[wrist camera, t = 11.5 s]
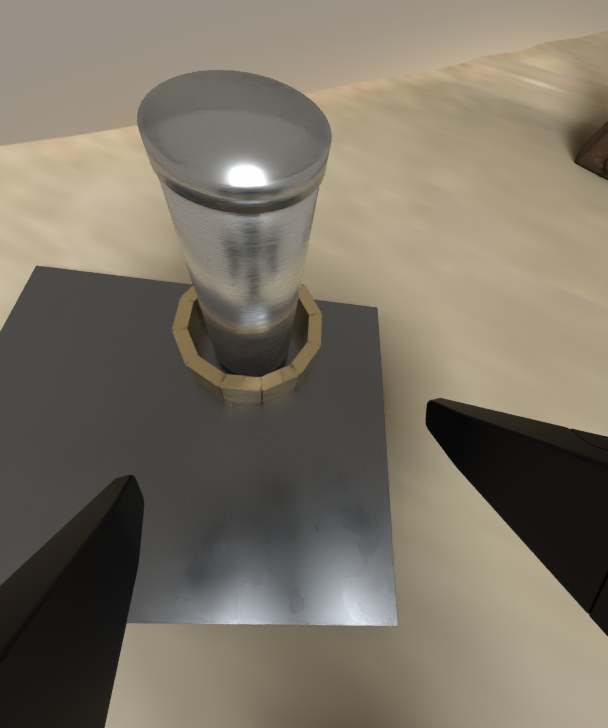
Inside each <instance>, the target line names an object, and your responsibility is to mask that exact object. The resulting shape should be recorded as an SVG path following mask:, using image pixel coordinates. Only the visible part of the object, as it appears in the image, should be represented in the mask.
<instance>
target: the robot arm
mask: <svg viewBox="0 0 608 728" xmlns="http://www.w3.org/2000/svg"><path fill="white" fill-rule="evenodd" d="M426 426H427V428H428V430H429V431H430V433H431V434H432V435H433V437H434V438H435V439H436V441H437V442H438V443H439V445H440V446H441V447H442V449H443V450H444V452H445V453H446V454H447V456H448V457H449V458H450V460H451V461H452V462H453V463H454V465H455V466H456V467H457V468H458V470H459V471H460V472H461V473H462V474H463V475H464V476H465V477H466V479H467V480H468V481H469V482H470V483H471V484H472V485H473V486H474V487H475V489H476V490H477V491H478V492H479V493H480V494H481V495H482V496H483V498H484V499H485V500H486V501H487V502H488V503H489V504H490V505H491V506H492V508H493V509H494V510H495V511H496V512H497V513H498V514H499V515H500V516H501V518H502V519H503V520H504V521H505V522H506V523H507V524H508V525H509V527H510V528H511V529H512V530H513V531H514V532H515V533H516V534H517V535H518V537H519V538H520V539H521V540H522V541H523V542H524V543H525V544H526V545H527V547H528V548H529V549H530V550H531V551H532V552H533V553H534V554H535V556H536V557H537V558H538V559H539V560H540V561H541V562H542V563H543V564H544V566H545V567H546V568H547V569H548V570H549V571H550V572H551V573H552V574H553V576H554V577H555V578H556V579H557V580H558V581H559V582H560V583H561V585H562V586H563V587H564V588H565V589H566V590H567V591H568V592H569V593H570V595H571V596H572V597H573V598H574V599H575V600H576V601H577V602H578V604H579V605H580V606H581V607H582V608H583V609H584V610H585V611H586V612H587V613H588V614H589V616H590V617H591V618H592V619H593V621H594V622H595V623H596V624H597V625H598V626H599V627H600V628H601V629H602V631H603V632H604V633H605V634H606V635H607V636H608V437H606V436H602V435H597V434H593V433H589V432H584V431H580V430H576V429H569V428H567V427H563V426H558V425H554V424H550V423H546V422H541V421H537V420H533V419H528V418H524V417H520V416H516V415H511V414H507V413H503V412H499V411H494V410H490V409H486V408H482V407H477V406H473V405H469V404H464V403H460V402H456V401H452V400H447V399H443V398H437V399H433V400H430V401H428V403H427V409H426ZM143 516H144V498H143V495H142V492H141V490H140V487H139V485H138V482H137V480H136V478H135V476H134V475H127V476H123V477H119V478H116V479H114V480H113V481H112V482H111V483H110V484H109V485H108V486H107V487H106V488H105V489H103V490H102V491H101V492H100V493H99V494H98V495H97V496H96V497H95V498H94V499H93V500H92V501H91V502H89V503H88V504H87V505H86V506H85V507H84V508H83V509H82V510H81V511H80V512H79V513H78V514H76V515H75V516H74V517H73V518H72V519H71V520H70V521H69V522H68V523H67V524H66V525H65V526H64V527H62V528H61V529H60V530H59V531H58V532H57V533H56V534H55V535H54V536H53V537H52V538H51V539H49V540H48V541H47V542H46V543H45V544H44V545H43V546H42V547H41V548H40V549H39V550H38V551H37V552H35V553H34V554H33V555H32V556H31V557H30V558H29V559H28V560H27V561H26V562H25V563H24V564H22V565H21V566H20V567H19V568H18V569H17V570H16V571H15V572H14V573H13V574H12V575H11V576H10V577H8V578H7V579H6V580H5V581H4V582H3V583H2V584H1V585H0V728H105V723H106V718H107V714H108V709H109V704H110V699H111V695H112V690H113V685H114V680H115V676H116V671H117V666H118V661H119V656H120V652H121V647H122V642H123V637H124V633H125V628H126V623H127V618H128V614H129V609H130V604H131V599H132V595H133V590H134V585H135V580H136V576H137V570H138V565H139V557H140V547H141V537H142V526H143Z"/></svg>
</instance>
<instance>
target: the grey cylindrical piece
mask: <svg viewBox="0 0 608 728" xmlns="http://www.w3.org/2000/svg"><path fill="white" fill-rule="evenodd" d="M137 124H138V128H139V132H140V135H141V138H142V141H143V144H144V147H145V150H146V152H147V155H148V158H149V161H150V164H151V166H152V168H153V170H154V172H155V174H156V175H157V176H158V178H159V180H160V183H161V186H162V189H163V193H164V196H165V199H166V202H167V205H168V208H169V211H170V214H171V217H172V220H173V224H174V227H175V230H176V233H177V236H178V239H179V242H180V245H181V248H182V251H183V255H184V258H185V261H186V264H187V267H188V270H189V273H190V276H191V279H192V282H193V286H194V289H195V292H196V295H197V298H198V301H199V304H200V307H201V310H202V313H203V317H204V320H205V323H206V326H207V329H208V332H209V335H210V338H211V341H212V344H213V348H214V351H215V354H216V356H217V358H218V360H219V361H220V363H221V364H222V365H223V366H224V367H225V368H227V369H228V370H230V371H231V372H233V373H235V374H238V375H242V376H251V377H254V376H261V375H265V374H267V373H270V372H272V371H273V370H275V369H276V368H277V367H279V366H280V365H281V364H282V362H283V361H284V359H285V358H286V356H287V353H288V349H289V344H290V339H291V334H292V328H293V323H294V318H295V312H296V307H297V302H298V296H299V291H300V286H301V281H302V275H303V270H304V265H305V259H306V254H307V249H308V243H309V238H310V233H311V227H312V222H313V217H314V211H315V206H316V201H317V195H318V190H319V185H320V184H321V182H322V180H323V178H324V175H325V170H326V165H327V160H328V155H329V150H330V145H331V129H330V125H329V123H328V120H327V118H326V117H325V115H324V114H323V112H322V111H321V110H320V108H319V107H318V106H317V105H316V104H315V103H314V102H313V101H312V100H310V99H309V98H308V97H306V96H305V95H304V94H302V93H301V92H299V91H297V90H296V89H294V88H292V87H290V86H288V85H286V84H284V83H281V82H279V81H277V80H274V79H271V78H268V77H264V76H260V75H257V74H252V73H246V72H240V71H229V70H208V71H198V72H193V73H188V74H184V75H180V76H177V77H174V78H171V79H169V80H167V81H165V82H163V83H161V84H159V85H158V86H156V87H155V88H154V89H152V90H151V91H150V92H149V93H148V94H147V95H146V96H145V98H144V99H143V100H142V102H141V104H140V107H139V109H138V114H137Z"/></svg>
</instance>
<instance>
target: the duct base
mask: <svg viewBox="0 0 608 728" xmlns="http://www.w3.org/2000/svg"><path fill="white" fill-rule="evenodd" d="M304 286H305V285H303V284H301V286H300V291H299V296H298V302H297V307H296V312H295V318H294V323H293V328H292V334H291V339H290V344H289V349H288V353H287V356H286V358H285V359H284V361H283V362H282V364H281V365H280V366H279V367H277V368H276V369H275V370H273V371H272V372H270V373H267V374H265V375H261V376H254V377H251V376H242V375H238V374H235V373H233V372H231V371H230V370H228V369H227V368H225V367H224V366H223V365H222V364H221V363H220V361H219V360H218V358H217V356H216V354H215V351H214V348H213V344H212V341H211V338H210V335H209V332H208V329H207V326H206V323H205V320H204V317H203V313H202V310H201V307H200V304H199V301H198V298H197V295H196V292H195V289H194V286H193V285H189V284H181V283H173V282H164V281H156V280H148V279H140V278H132V277H124V276H115V275H107V274H99V273H91V272H83V271H75V270H66V269H58V268H50V267H42V266H36V267H35V269H34V271H33V273H32V274H31V276H30V278H29V280H28V282H27V284H26V285H25V287H24V289H23V291H22V293H21V295H20V296H19V298H18V300H17V302H16V304H15V306H14V307H13V309H12V311H11V313H10V315H9V317H8V319H7V320H6V322H5V324H4V326H3V328H2V330H1V331H0V585H1V584H2V583H3V582H4V581H5V580H6V579H7V578H8V577H10V576H11V575H12V574H13V573H14V572H15V571H16V570H17V569H18V568H19V567H20V566H21V565H22V564H24V563H25V562H26V561H27V560H28V559H29V558H30V557H31V556H32V555H33V554H34V553H35V552H37V551H38V550H39V549H40V548H41V547H42V546H43V545H44V544H45V543H46V542H47V541H48V540H49V539H51V538H52V537H53V536H54V535H55V534H56V533H57V532H58V531H59V530H60V529H61V528H62V527H64V526H65V525H66V524H67V523H68V522H69V521H70V520H71V519H72V518H73V517H74V516H75V515H76V514H78V513H79V512H80V511H81V510H82V509H83V508H84V507H85V506H86V505H87V504H88V503H89V502H91V501H92V500H93V499H94V498H95V497H96V496H97V495H98V494H99V493H100V492H101V491H102V490H103V489H105V488H106V487H107V486H108V485H109V484H110V483H111V482H112V481H113V480H114V479H116V478H119V477H123V476H127V475H134V476H135V478H136V480H137V482H138V485H139V487H140V490H141V492H142V495H143V498H144V516H143V526H142V537H141V547H140V557H139V565H138V570H137V576H136V580H135V585H134V590H133V595H132V599H131V604H130V609H129V614H128V618H127V623H174V624H272V625H371V626H398V625H397V609H396V593H395V577H394V561H393V546H392V530H391V514H390V498H389V483H388V467H387V451H386V435H385V420H384V404H383V388H382V372H381V357H380V341H379V325H378V309H377V308H376V307H368V306H360V305H352V304H344V303H336V302H327V301H319V300H313V298H312V296H311V295H310V293H309V291H308V290H307V288H306V286H305V287H304Z"/></svg>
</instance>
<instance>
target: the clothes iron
mask: <svg viewBox="0 0 608 728" xmlns="http://www.w3.org/2000/svg"><path fill="white" fill-rule="evenodd" d="M576 163H578V164H579V165H581V166H583V167H585V168H587V169H589V170H591V171H593V172H595V173H597V174H599V175H601V176H603V177H605V178H607V179H608V121H607V122H606V123H605V124H604V125H603V127H602V128H601V129H600V130H599V131H598V132H597V133H595V134H594V135H593V136H592V137H591V138H590V139H589V140H588V141H587V142H586V143H585V144H584V146H583V147H582V148H581V150H580V152H579V154H578V156H577V159H576Z"/></svg>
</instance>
